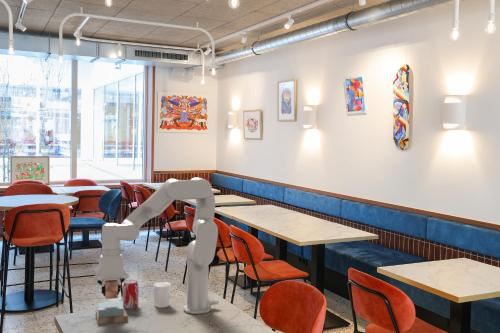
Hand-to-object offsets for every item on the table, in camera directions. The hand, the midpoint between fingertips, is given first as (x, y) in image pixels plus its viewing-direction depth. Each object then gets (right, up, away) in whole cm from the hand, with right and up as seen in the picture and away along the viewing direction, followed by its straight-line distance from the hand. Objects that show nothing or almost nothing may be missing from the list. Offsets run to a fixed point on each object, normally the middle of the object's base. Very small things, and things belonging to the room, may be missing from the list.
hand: (111, 293), depth 223 cm
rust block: (0, -1, 0) cm, 1 cm away
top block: (0, -8, +1) cm, 8 cm away
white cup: (+19, -10, +19) cm, 28 cm away
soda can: (+5, -10, +15) cm, 19 cm away
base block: (0, -11, +1) cm, 11 cm away
